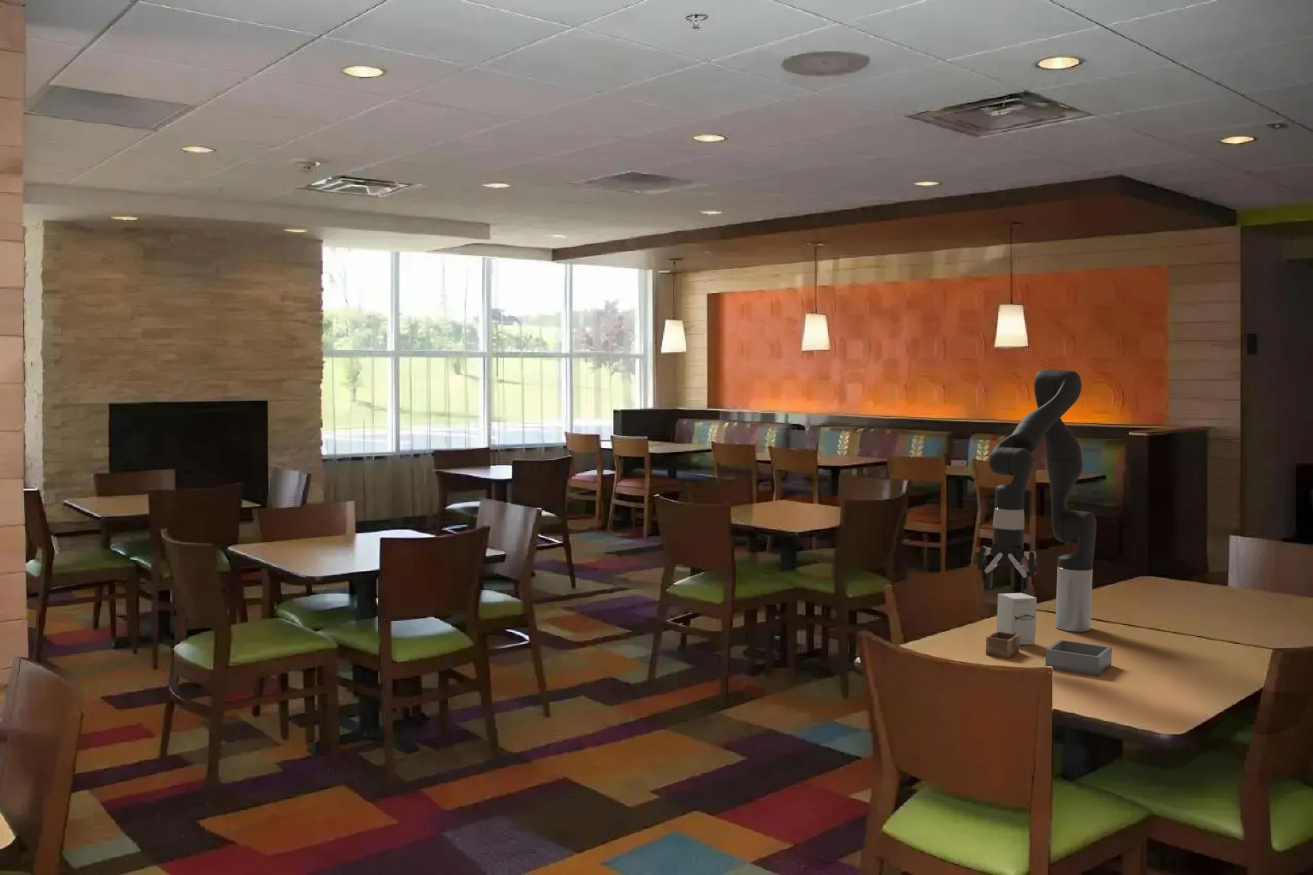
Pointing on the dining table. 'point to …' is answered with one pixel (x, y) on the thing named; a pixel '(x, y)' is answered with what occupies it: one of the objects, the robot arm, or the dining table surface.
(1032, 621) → the supplement box
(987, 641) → the small crate
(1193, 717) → the dining table surface
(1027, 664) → the dining table surface
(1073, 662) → the box
